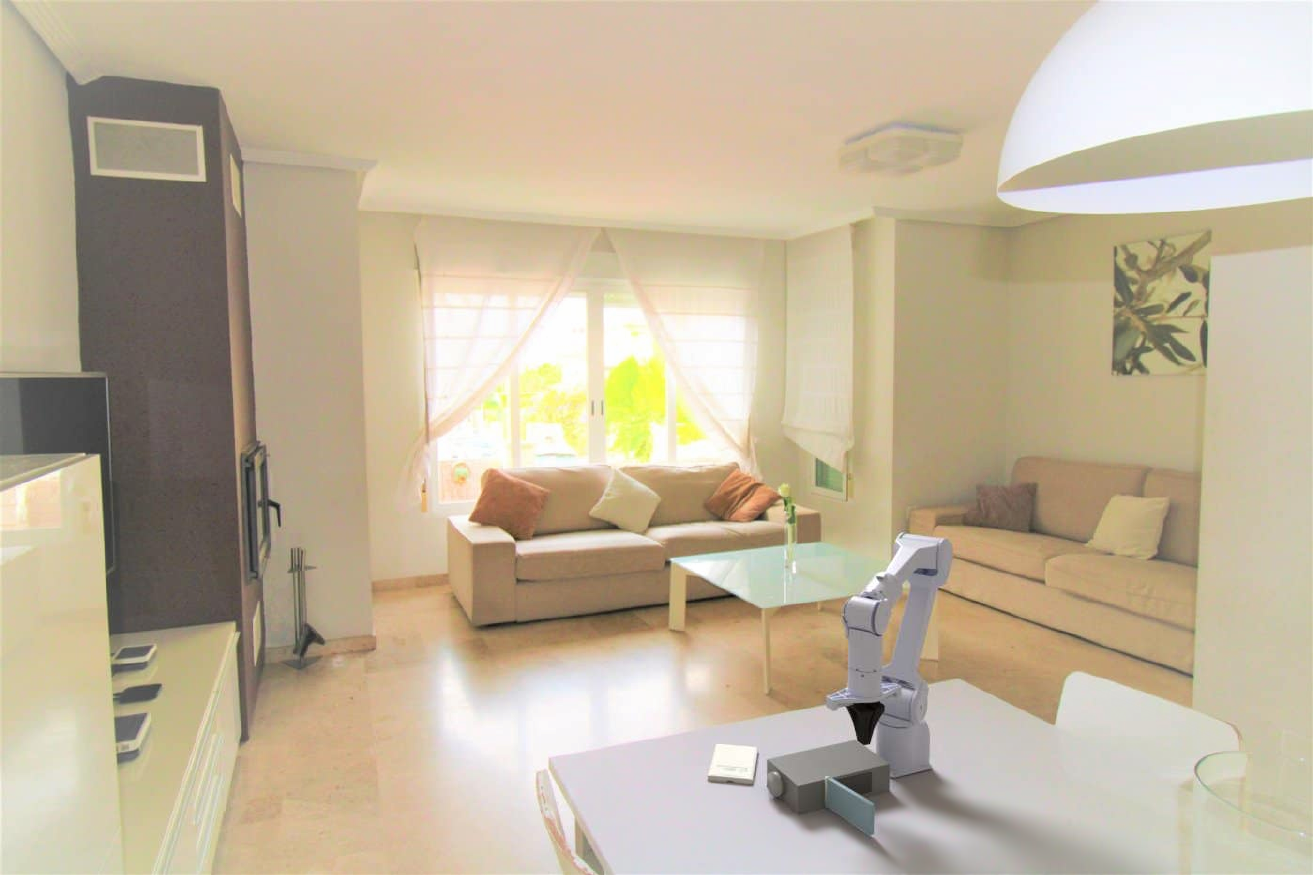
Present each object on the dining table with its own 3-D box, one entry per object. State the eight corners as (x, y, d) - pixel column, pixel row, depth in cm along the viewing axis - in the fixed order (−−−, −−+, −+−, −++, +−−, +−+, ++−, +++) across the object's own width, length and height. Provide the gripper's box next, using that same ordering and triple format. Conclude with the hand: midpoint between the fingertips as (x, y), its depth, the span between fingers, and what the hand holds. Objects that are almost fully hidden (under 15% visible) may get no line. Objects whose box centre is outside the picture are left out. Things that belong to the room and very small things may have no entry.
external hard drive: (757, 755, 155) (752, 787, 143) (716, 751, 156) (707, 782, 144) (757, 747, 155) (752, 778, 143) (716, 743, 156) (707, 774, 144)
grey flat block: (854, 765, 149) (855, 739, 149) (890, 791, 140) (890, 764, 140) (761, 787, 141) (761, 760, 141) (792, 816, 132) (792, 787, 132)
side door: (874, 833, 126) (875, 803, 126) (870, 835, 126) (870, 805, 125) (827, 803, 135) (827, 775, 135) (823, 805, 135) (823, 777, 134)
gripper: (883, 652, 144) (882, 725, 145) (816, 664, 138) (815, 740, 139) (910, 666, 137) (908, 742, 138) (840, 679, 132) (839, 758, 133)
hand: (863, 742), depth 138 cm, fingers closed
